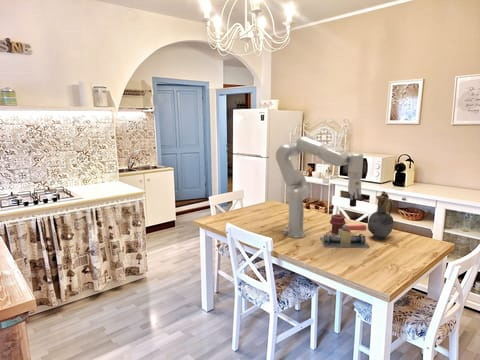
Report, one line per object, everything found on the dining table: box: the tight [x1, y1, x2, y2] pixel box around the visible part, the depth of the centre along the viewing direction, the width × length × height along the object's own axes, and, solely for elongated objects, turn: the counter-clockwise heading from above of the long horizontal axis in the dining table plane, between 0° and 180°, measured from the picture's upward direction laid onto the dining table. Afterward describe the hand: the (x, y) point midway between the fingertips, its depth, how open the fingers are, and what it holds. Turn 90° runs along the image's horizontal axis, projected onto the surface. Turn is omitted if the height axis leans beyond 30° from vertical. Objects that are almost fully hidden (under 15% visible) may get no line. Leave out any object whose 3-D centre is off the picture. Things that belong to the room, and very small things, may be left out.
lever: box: [342, 224, 367, 232], centre depth 194 cm, size 14×3×3 cm, turn 93°
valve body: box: [320, 229, 371, 249], centre depth 195 cm, size 26×14×8 cm, turn 87°
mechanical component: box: [329, 213, 347, 235], centre depth 212 cm, size 12×10×10 cm
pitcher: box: [367, 190, 394, 241], centre depth 202 cm, size 11×19×30 cm, turn 124°
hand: (352, 206), depth 185 cm, fingers closed
